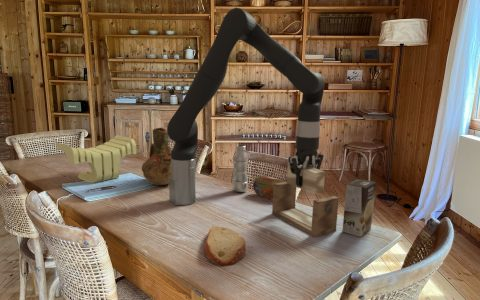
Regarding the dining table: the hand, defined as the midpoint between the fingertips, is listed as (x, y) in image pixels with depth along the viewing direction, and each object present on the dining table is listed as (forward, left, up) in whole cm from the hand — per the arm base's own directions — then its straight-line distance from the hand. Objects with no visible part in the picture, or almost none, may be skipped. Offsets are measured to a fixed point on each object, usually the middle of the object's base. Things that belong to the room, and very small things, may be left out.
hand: (304, 185), depth 122 cm
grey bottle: (-1, +38, -13) cm, 40 cm away
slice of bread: (-33, -2, -14) cm, 36 cm away
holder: (0, 0, -13) cm, 13 cm away
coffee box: (+11, -14, -13) cm, 22 cm away
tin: (+6, +26, -13) cm, 30 cm away
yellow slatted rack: (-48, +86, -13) cm, 99 cm away
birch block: (0, 0, -1) cm, 1 cm away
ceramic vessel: (-26, +63, -13) cm, 69 cm away
